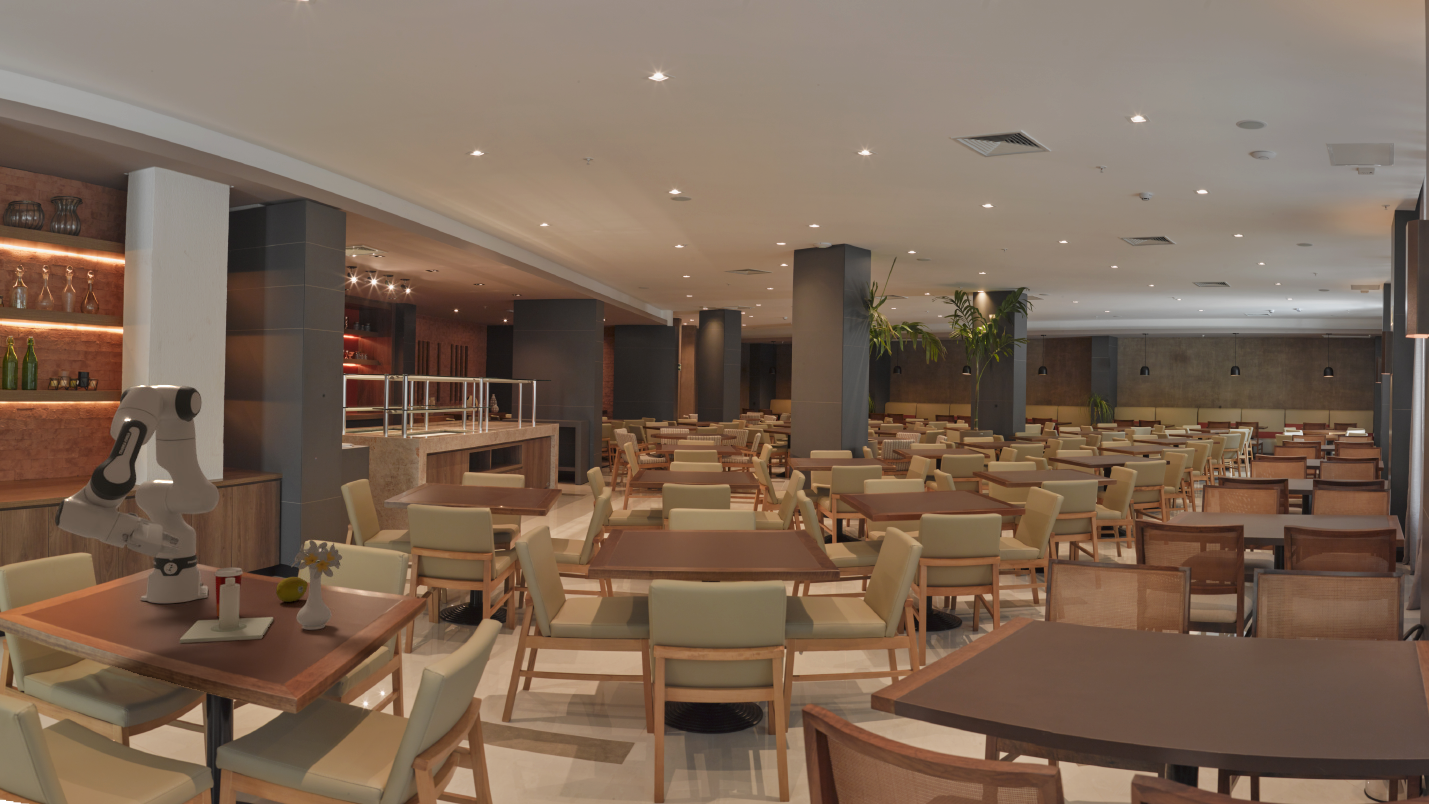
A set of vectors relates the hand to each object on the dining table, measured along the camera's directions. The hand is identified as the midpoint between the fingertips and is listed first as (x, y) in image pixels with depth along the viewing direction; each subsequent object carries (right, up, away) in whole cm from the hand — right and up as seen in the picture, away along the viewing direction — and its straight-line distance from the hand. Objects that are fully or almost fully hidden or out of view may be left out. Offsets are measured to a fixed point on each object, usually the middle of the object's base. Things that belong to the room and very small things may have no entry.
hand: (177, 546), depth 244 cm
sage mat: (+14, -25, +1) cm, 28 cm away
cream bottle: (+14, -23, +1) cm, 27 cm away
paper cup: (+4, -24, +18) cm, 30 cm away
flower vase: (+36, -25, +8) cm, 45 cm away
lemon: (+14, -25, +37) cm, 47 cm away
